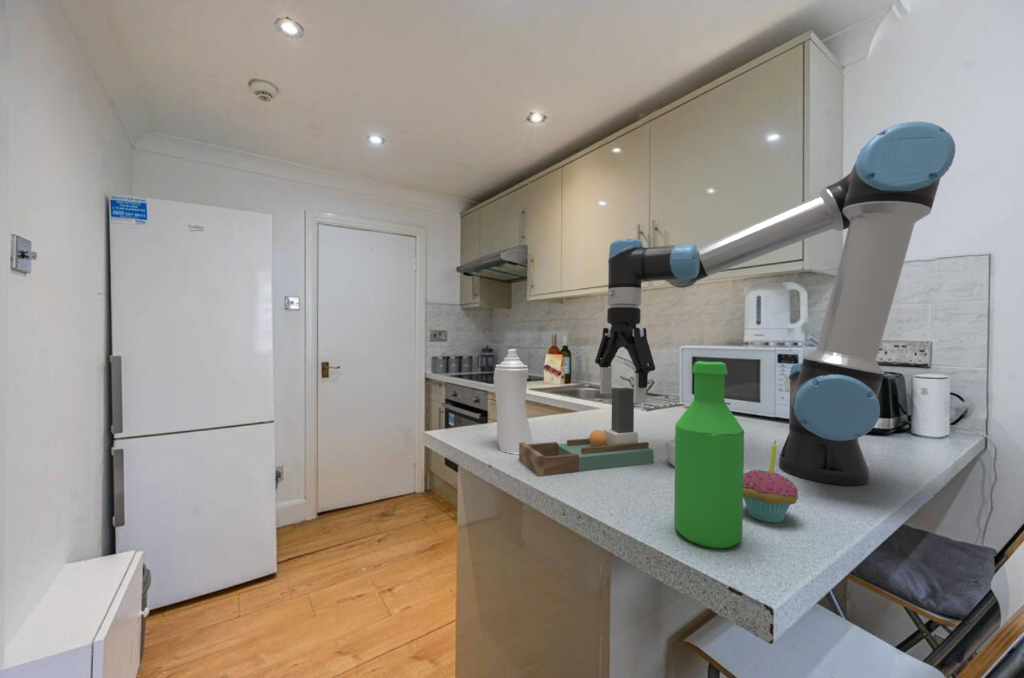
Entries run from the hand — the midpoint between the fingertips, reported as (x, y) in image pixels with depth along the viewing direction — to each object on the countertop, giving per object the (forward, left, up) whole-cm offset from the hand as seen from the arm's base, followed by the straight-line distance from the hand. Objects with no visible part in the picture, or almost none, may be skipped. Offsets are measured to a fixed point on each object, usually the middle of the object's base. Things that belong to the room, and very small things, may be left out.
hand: (621, 397), depth 96 cm
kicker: (0, 0, -11) cm, 11 cm away
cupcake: (-34, -4, -14) cm, 37 cm away
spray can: (+16, +21, -14) cm, 30 cm away
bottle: (-36, +10, -14) cm, 40 cm away
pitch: (0, +5, -14) cm, 15 cm away
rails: (0, +4, -11) cm, 12 cm away
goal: (0, +18, -14) cm, 23 cm away
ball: (0, +6, -9) cm, 11 cm away
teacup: (-10, -11, -14) cm, 21 cm away
